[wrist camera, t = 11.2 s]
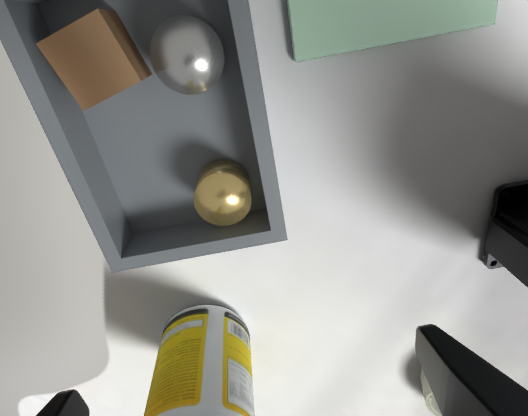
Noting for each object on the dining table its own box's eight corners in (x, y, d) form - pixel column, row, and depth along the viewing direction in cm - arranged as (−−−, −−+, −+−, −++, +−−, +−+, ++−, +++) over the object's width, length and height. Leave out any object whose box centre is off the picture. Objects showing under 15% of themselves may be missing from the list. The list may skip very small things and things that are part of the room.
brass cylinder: (244, 153, 19) (245, 169, 17) (253, 200, 21) (256, 220, 19) (192, 163, 19) (186, 180, 17) (205, 209, 21) (201, 230, 19)
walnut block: (115, 11, 16) (97, 8, 14) (152, 74, 17) (141, 80, 15) (61, 41, 16) (35, 43, 14) (101, 100, 18) (83, 111, 15)
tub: (235, -57, 15) (235, -75, 13) (280, 214, 22) (287, 240, 19) (15, -14, 15) (-30, -23, 13) (126, 242, 22) (112, 272, 19)
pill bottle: (147, 341, 26) (91, 543, 16) (193, 286, 24) (163, 479, 14) (219, 371, 28) (210, 566, 18) (267, 323, 26) (288, 513, 16)
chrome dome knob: (217, 10, 16) (214, 8, 14) (231, 82, 18) (230, 87, 16) (149, 23, 16) (139, 22, 14) (169, 93, 18) (162, 100, 16)
